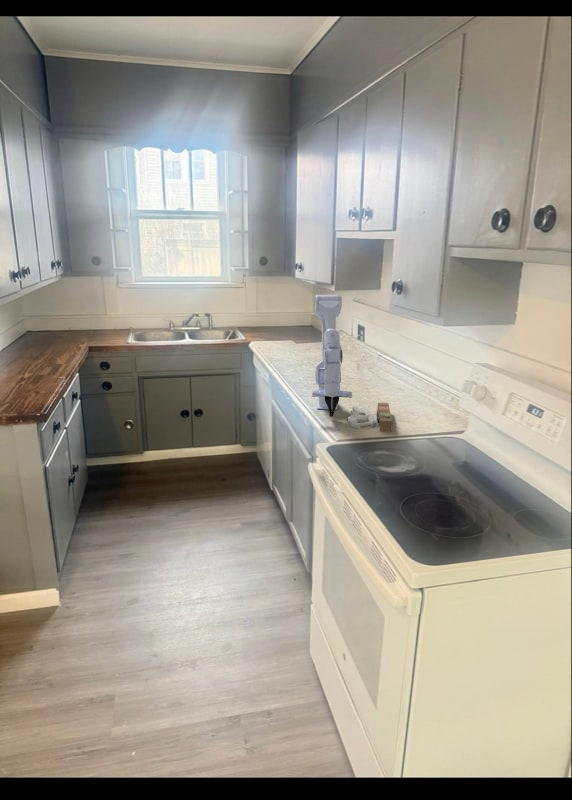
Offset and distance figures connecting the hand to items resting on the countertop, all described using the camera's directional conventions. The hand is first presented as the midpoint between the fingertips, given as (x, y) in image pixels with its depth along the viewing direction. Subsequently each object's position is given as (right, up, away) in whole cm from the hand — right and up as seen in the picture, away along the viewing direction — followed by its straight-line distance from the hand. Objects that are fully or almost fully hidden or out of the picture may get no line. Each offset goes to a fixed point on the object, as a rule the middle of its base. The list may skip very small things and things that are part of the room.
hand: (331, 415), depth 195 cm
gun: (+11, -2, 0) cm, 11 cm away
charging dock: (+19, -2, -2) cm, 19 cm away
